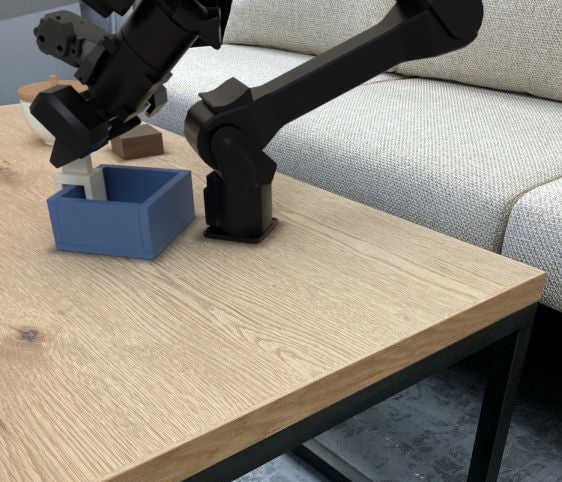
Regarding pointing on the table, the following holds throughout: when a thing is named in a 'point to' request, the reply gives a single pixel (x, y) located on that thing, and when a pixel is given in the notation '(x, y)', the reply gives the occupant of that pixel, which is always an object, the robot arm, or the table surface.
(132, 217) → the box
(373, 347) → the table surface
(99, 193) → the white bracket
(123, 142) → the block
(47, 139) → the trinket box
